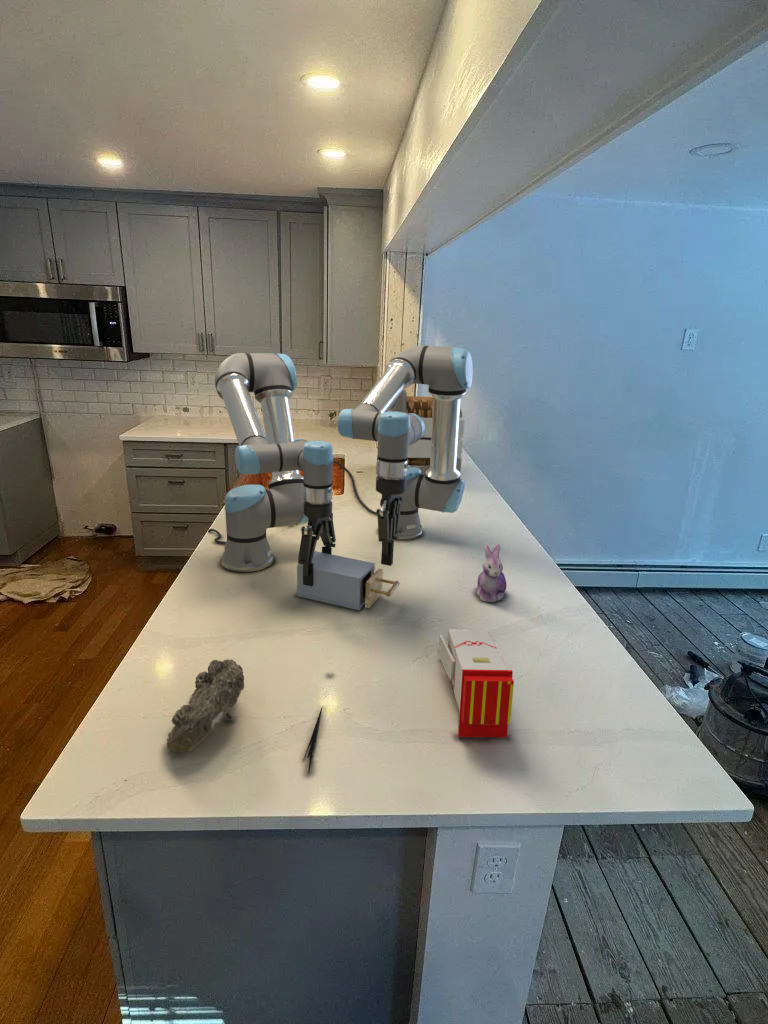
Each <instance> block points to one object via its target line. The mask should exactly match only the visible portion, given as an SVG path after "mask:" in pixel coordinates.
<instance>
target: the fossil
mask: <svg viewBox="0 0 768 1024" xmlns="http://www.w3.org/2000/svg"><path fill="white" fill-rule="evenodd" d="M243 670H244V669H243V667H242V665H240V664H237V662H236V661H235V660H234V659H232V658H231V659H227V658H226V659H224V660H223V661H222V660H217V659H212V660H211V661H210V663H209V665H208V666H207V671H201V672H199V673H198V674H197V675H196V676H195V680H194V684H195V685H194V687H195V689H194V690H193V693H192V694H191V697H190V698H189V700H188V704H184V705H182V706H181V707H180V709H177V710H176V711H175V713H174V715H173V716H172V718H171V723H172V724H173V727H172V730H171V731H170V732H168V734H167V738H166V741H167V742H166V745H167V749H168V750H169V751H173V752H174V753H176V754H178V753H182V752H188V751H189V752H192V751H193V750H195V748H196V747H197V746H199V744H200V743H201V742H203V741H204V740H205V739H206V738H207V737H208V736H209V735H210V734H211V733H212V732H214V730H215V729H217V727H218V726H219V724H220V722H221V721H222V720H223V719H224V718H225V716H226V717H227V719H229V720H233V717H232V715H230V714H229V710H230V709H231V708H234V706H235V704H236V703H237V702H238V699H239V697H240V695H241V693H242V691H243V690H245V689H244V688H245V675H244V671H243Z"/></svg>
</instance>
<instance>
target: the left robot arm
mask: <svg viewBox="0 0 768 1024" xmlns="http://www.w3.org/2000/svg"><path fill="white" fill-rule="evenodd" d="M295 367H296V366H295V364H294V362H293V360H292V359H291V357H289V355H287V354H285V353H278V352H271V353H269V352H267V353H266V352H264V353H263V352H259V353H258V352H257V353H255V352H249V353H247V352H246V353H245V352H238V353H234V354H231V355H230V356H228V357H227V358H225V359H224V360H223V361H222V362H221V363H220V364H219V366H218V368H217V369H216V372H215V376H214V386H215V390H216V393H217V395H218V397H219V398H220V399H222V400H223V403H224V405H225V408H226V411H227V415H228V417H229V421H230V423H231V426H232V429H233V432H234V434H235V437H236V441H237V443H238V446H236V447H235V449H234V462H235V467H236V469H237V471H238V473H239V474H241V475H259V474H269V473H271V474H270V475H271V479H270V481H269V482H267V483H268V484H267V487H268V489H266V488H265V487H264V486H263V485H261V484H253V483H251V484H243V485H239V486H235V487H233V488H232V489H230V490H229V491H228V492H226V494H225V496H224V508H223V509H224V513H225V527H226V529H225V530H226V531H225V532H226V540H225V541H223V540H219V539H221V538H222V534H221V533H220V531H218V530H217V529H215V528H210V529H208V530H207V532H208V533H210V532H214V533H215V534H217V536H216V537H215V538H214V542H215V543H217V544H224V548H223V552H222V555H221V565H222V566H223V567H224V568H225V569H226V570H229V571H232V572H237V573H252V572H257V571H261V570H264V569H267V568H268V567H270V566H271V565H272V564H273V563H274V553H273V549H272V548H271V546H270V542H269V540H268V537H267V529H273V528H282V527H290V526H300V525H303V526H301V538H300V544H299V552H298V559H297V565H298V564H303V585H307V586H313V563H312V559H313V555H314V551H316V546H317V542H318V541H319V540H321V542H322V546H321V552H322V553H327V554H332V555H333V552H332V551H333V550H332V549H333V548H336V541H337V540H336V531H335V525H334V513H333V501H332V500H333V494H334V490H333V471H334V454H333V453H334V452H333V445H332V443H330V442H329V441H324V440H308V439H304V438H295V433H294V427H293V421H292V420H293V419H292V415H291V408H290V407H291V406H290V399H291V398H292V396H293V392H294V391H295V390H296V388H297V386H298V385H297V383H298V381H297V377H298V376H297V371H296V368H295ZM250 393H253V395H254V399H255V400H256V402H259V404H260V406H261V413H262V420H263V424H262V422H261V420H260V418H259V415H258V412H257V410H256V407H255V405H254V402H253V400H252V397H251V394H250ZM262 425H263V426H264V428H263V426H262ZM300 471H301V472H302V474H303V475H302V474H301V472H300ZM304 524H307V525H306V526H304Z"/></svg>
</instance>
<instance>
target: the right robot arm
mask: <svg viewBox="0 0 768 1024" xmlns="http://www.w3.org/2000/svg"><path fill="white" fill-rule="evenodd" d="M473 366H474V364H473V359H472V355H471V353H470V351H469V350H468V349H466V348H461V347H456V346H440V345H439V346H438V345H423V344H421V345H420V344H419V345H415V346H411V347H409V348H406V349H404V350H402V351H400V352H398V353H397V354H396V355H394V356H393V357H392V358H391V359H389V361H388V363H386V364H385V367H384V373H383V374H382V375H381V376H380V378H379V379H378V381H376V383H375V384H374V385H373V386H372V388H371V389H370V390H369V391H368V392H367V394H366V395H365V397H364V398H363V399H362V400H361V401H360V403H359V404H358V405H357V406H356V407H355V408H354V409H353V408H344V409H342V410H341V411H340V412H339V414H338V417H337V431H338V433H339V435H340V436H341V437H343V438H349V439H352V440H360V441H371V442H377V454H376V467H375V471H376V472H375V474H376V476H375V491H376V492H377V493H379V494H380V495H381V498H380V500H379V501H380V502H379V506H380V508H377V509H376V511H374V510H373V509H371V508H370V507H368V506H367V505H366V504H365V503H364V501H362V499H361V498H360V496H359V494H358V492H357V489H356V485H355V480H354V477H353V475H352V474H351V472H350V471H349V469H348V468H347V467H346V466H344V465H343V464H342V463H340V462H338V461H337V460H333V463H334V464H336V465H338V466H340V467H341V468H342V469H344V471H346V472H347V473H348V475H349V477H350V479H351V484H352V488H353V491H354V492H353V493H354V495H355V497H356V498H357V500H358V502H359V503H360V504H361V505H362V506H363V507H364V508H365V509H366V510H367V511H368V512H370V513H372V514H374V515H376V517H377V531H378V542H381V555H380V557H381V558H380V564H381V565H384V566H388V567H391V566H393V564H394V551H395V549H394V548H395V541H410V540H415V539H418V538H420V537H421V536H422V535H423V525H422V524H421V518H420V515H419V509H424V510H430V511H435V512H441V513H450V514H453V513H456V512H457V511H458V509H459V508H460V505H461V502H462V499H463V496H464V493H465V492H464V491H465V489H466V481H465V479H463V478H461V474H460V472H459V471H458V470H457V469H456V460H457V444H458V429H459V413H460V408H461V399H462V397H463V396H464V395H466V393H467V390H468V389H470V388H471V386H472V383H473V377H474V367H473ZM414 384H415V385H416V384H418V385H426V386H428V389H427V391H428V393H429V395H431V397H433V409H432V433H431V457H430V466H429V468H427V469H426V470H425V471H424V472H425V473H422V469H421V468H419V467H417V466H409V465H407V462H408V449H409V446H410V445H411V444H413V443H416V442H417V441H418V440H419V439H420V438H421V437H422V436H423V434H424V431H425V425H424V422H423V420H422V419H421V417H420V416H418V415H416V414H413V413H410V414H408V413H403V412H388V411H389V409H390V408H391V407H392V405H393V404H394V403H395V401H396V400H397V398H398V397H399V396H400V394H401V393H402V391H403V390H406V389H408V388H410V387H411V386H412V385H414Z"/></svg>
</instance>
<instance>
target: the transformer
mask: <svg viewBox="0 0 768 1024" xmlns="http://www.w3.org/2000/svg"><path fill="white" fill-rule="evenodd" d="M407 394H408V393H407V390H406V389H404V390H403V391H402V393H401V394H400V396H399V397H398V398H397V400H396V401H395V403H394V404H393V405H392V407H391V408H390V409H389V411H388V412H403V413H408V414H410V413H413V414H416V415H418V416H420V417H421V419H422V420H423V422H424V425H425V431H424V434H423V436H422V437H421V438H420V439H419V440H418V441H417V442H416V443H413V444H411V445H410V446H409V449H408V462H407V465H409V467H417V466H418V467H430V457H431V433H432V409H433V396H415V395H414V396H413V395H412V396H411V395H407ZM464 429H465V419H464V418H463V411H462V408H461V407H460V413H459V429H458V444H457V460H456V469H457V470H458V471H459V472H460V475H461V472H462V461H463V460H462V453H463V442H464V441H463V440H462V439H463V438H464V431H465V430H464Z"/></svg>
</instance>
